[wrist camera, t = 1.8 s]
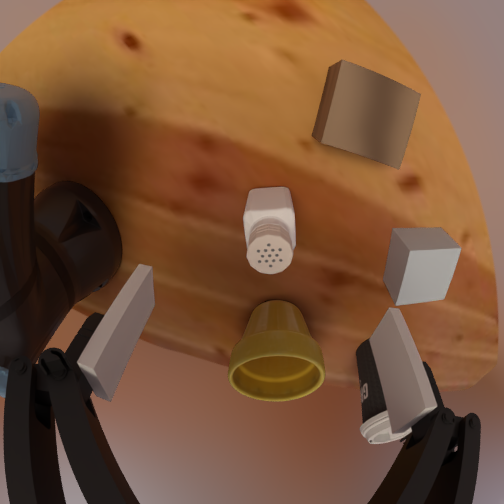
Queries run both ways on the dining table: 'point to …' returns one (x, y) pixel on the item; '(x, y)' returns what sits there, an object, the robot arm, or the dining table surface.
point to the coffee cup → (373, 400)
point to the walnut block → (366, 113)
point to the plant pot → (276, 355)
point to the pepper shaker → (269, 229)
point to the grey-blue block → (420, 264)
